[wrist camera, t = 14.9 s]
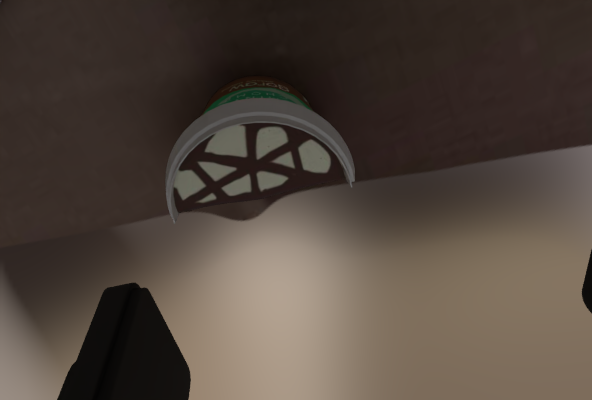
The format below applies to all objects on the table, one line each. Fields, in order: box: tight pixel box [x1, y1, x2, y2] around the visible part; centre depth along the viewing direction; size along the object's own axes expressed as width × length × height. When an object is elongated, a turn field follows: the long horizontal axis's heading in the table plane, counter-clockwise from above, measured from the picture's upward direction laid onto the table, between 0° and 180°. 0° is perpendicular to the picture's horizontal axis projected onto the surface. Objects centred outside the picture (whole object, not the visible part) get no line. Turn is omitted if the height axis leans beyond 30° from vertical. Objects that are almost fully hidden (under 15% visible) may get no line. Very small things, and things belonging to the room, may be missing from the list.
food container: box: [165, 75, 355, 223], centre depth 30 cm, size 12×6×10 cm, turn 101°
